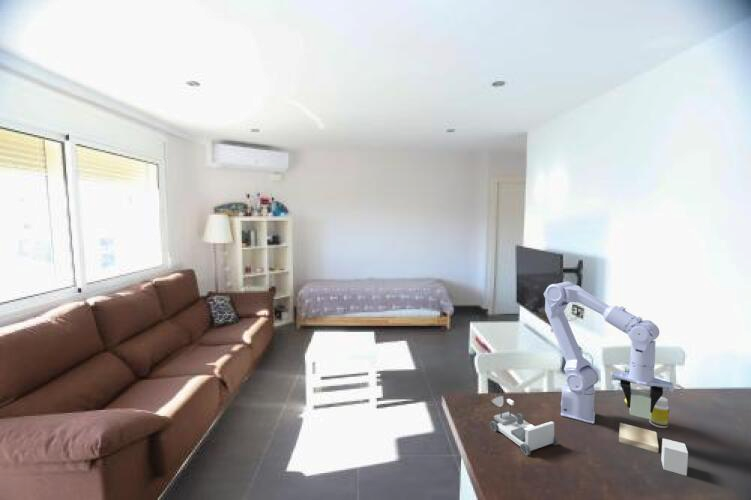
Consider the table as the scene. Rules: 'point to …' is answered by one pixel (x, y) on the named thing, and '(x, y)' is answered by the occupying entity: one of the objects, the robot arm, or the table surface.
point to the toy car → (522, 429)
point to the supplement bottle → (660, 413)
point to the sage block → (640, 403)
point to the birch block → (638, 437)
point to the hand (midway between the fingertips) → (639, 408)
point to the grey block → (674, 456)
